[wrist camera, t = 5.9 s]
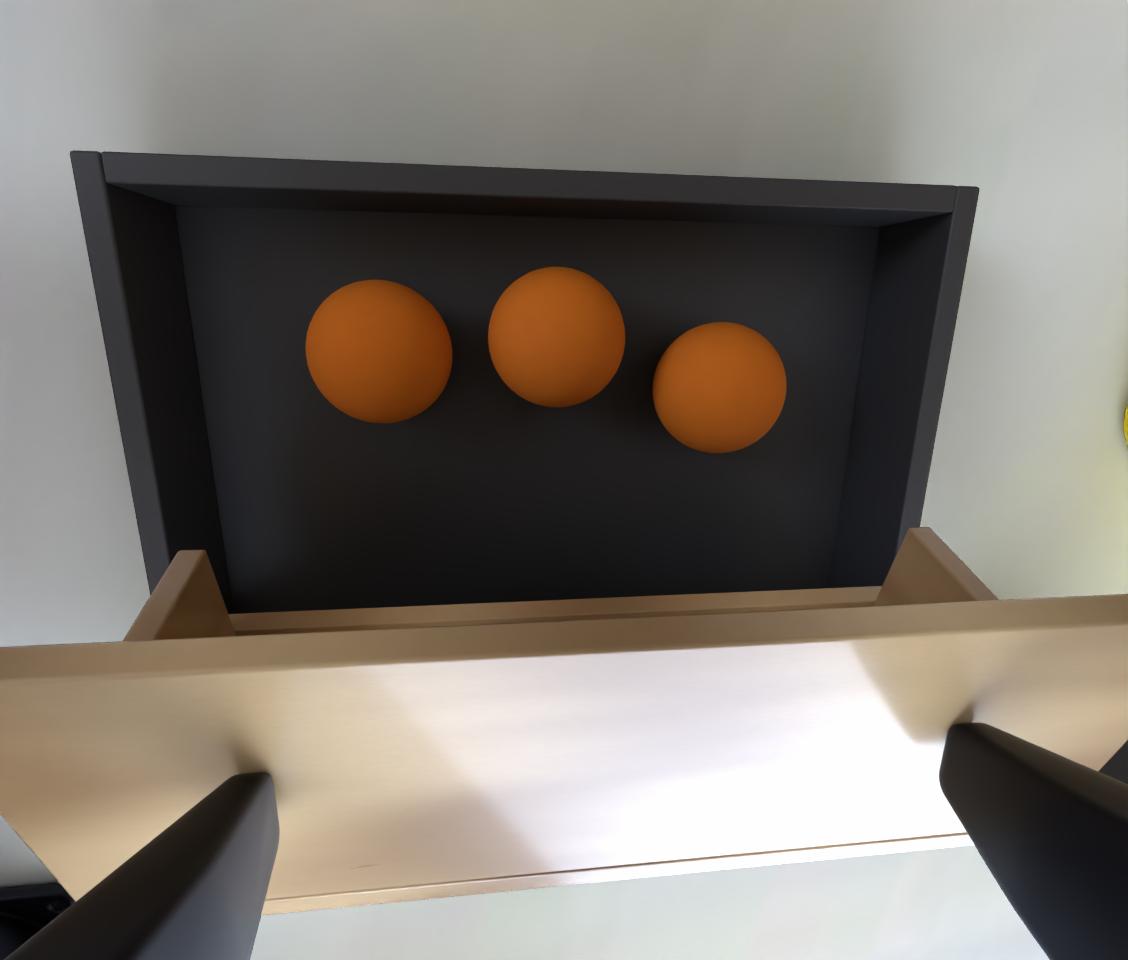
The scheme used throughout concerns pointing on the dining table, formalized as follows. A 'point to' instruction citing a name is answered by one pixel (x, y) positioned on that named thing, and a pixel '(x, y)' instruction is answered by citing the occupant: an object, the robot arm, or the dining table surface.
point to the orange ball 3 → (719, 387)
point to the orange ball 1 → (379, 351)
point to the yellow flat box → (1126, 425)
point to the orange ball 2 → (556, 337)
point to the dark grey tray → (487, 405)
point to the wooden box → (549, 728)
